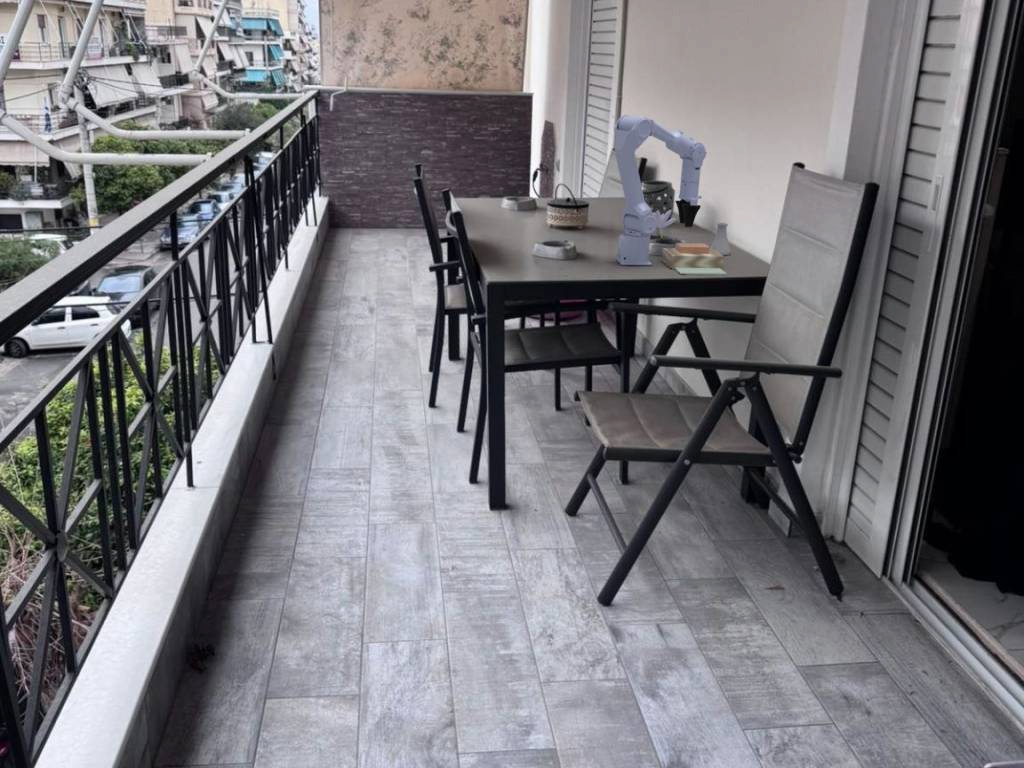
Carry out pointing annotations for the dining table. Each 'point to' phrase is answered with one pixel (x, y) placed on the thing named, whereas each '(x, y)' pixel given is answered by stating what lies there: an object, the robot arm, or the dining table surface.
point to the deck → (692, 259)
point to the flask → (721, 240)
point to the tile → (692, 248)
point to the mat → (700, 271)
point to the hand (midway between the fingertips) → (685, 225)
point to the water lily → (662, 221)
